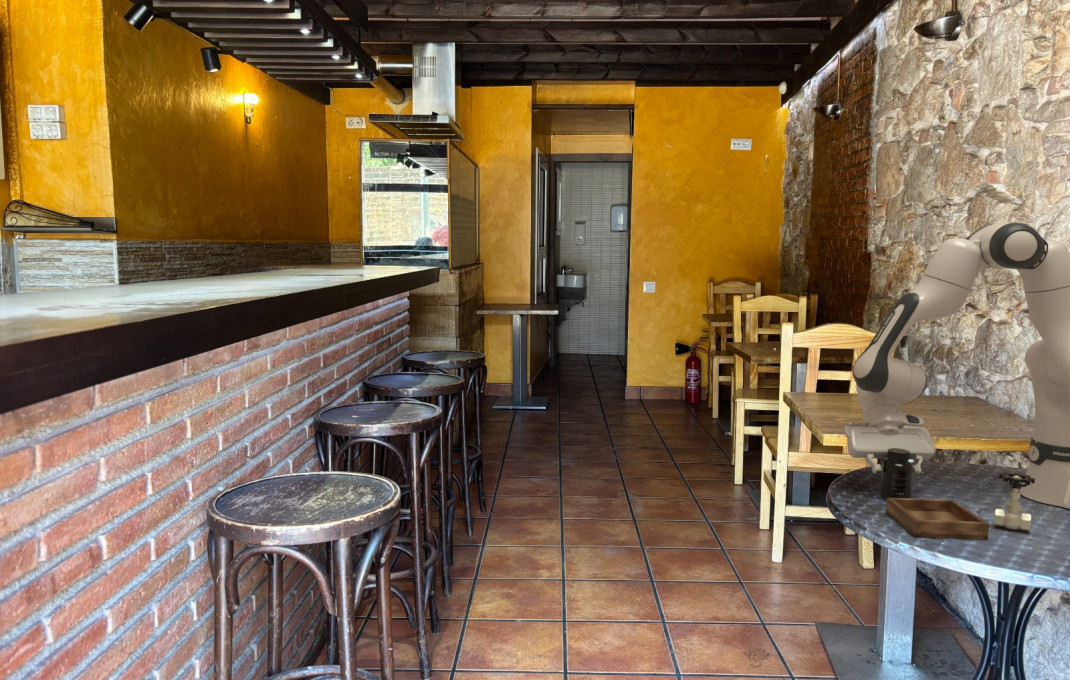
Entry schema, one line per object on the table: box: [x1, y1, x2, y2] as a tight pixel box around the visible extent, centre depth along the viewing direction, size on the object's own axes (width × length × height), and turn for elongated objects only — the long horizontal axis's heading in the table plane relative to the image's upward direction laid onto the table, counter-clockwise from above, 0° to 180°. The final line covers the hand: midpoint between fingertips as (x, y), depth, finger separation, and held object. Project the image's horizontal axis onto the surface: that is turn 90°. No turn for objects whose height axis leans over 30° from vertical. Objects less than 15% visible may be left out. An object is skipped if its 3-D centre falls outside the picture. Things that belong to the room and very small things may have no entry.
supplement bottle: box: [879, 448, 914, 501], centre depth 185 cm, size 7×7×12 cm
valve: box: [993, 471, 1035, 532], centre depth 166 cm, size 7×7×12 cm
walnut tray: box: [885, 498, 990, 541], centre depth 168 cm, size 15×15×4 cm
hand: (897, 473), depth 185 cm, fingers open, 8 cm apart
